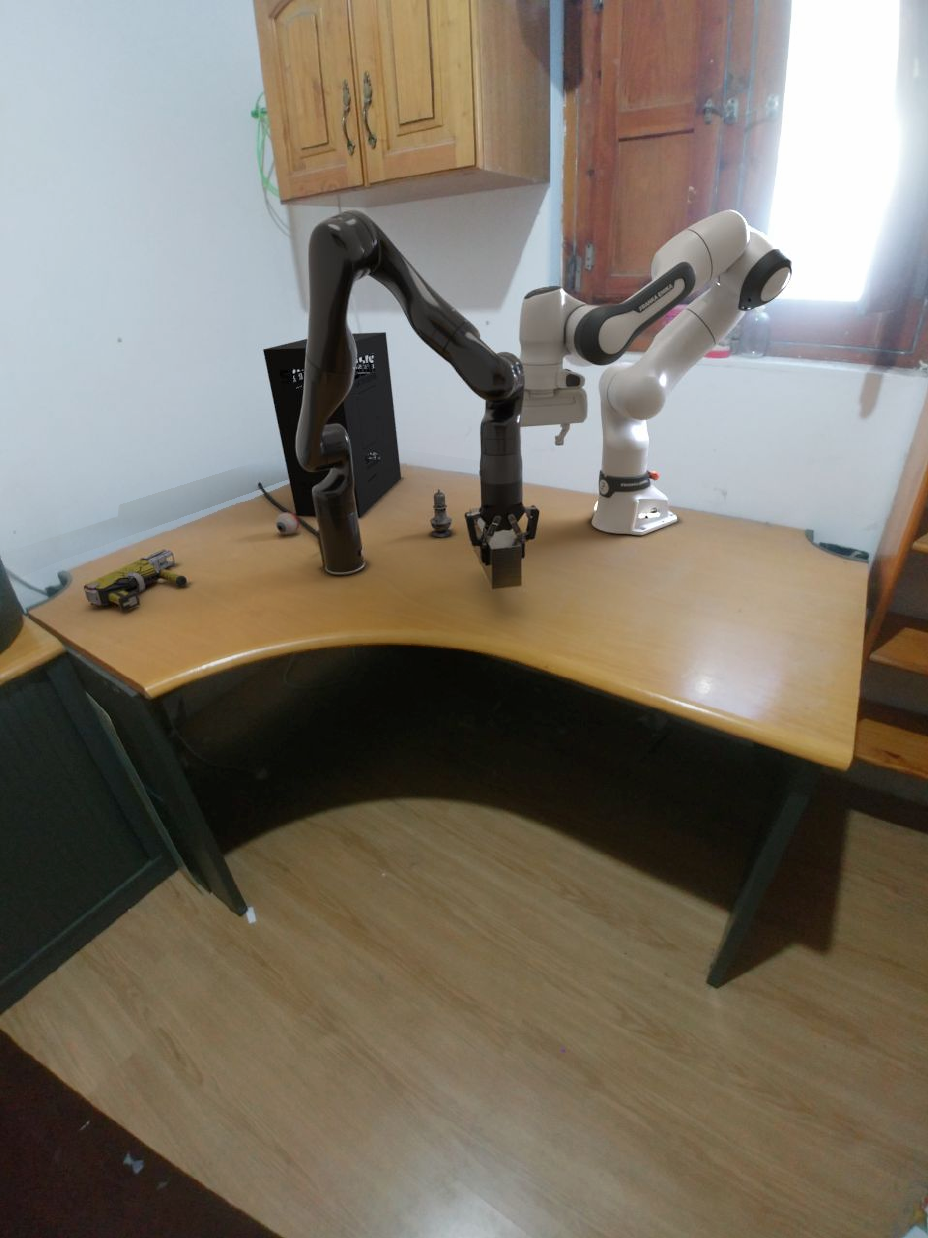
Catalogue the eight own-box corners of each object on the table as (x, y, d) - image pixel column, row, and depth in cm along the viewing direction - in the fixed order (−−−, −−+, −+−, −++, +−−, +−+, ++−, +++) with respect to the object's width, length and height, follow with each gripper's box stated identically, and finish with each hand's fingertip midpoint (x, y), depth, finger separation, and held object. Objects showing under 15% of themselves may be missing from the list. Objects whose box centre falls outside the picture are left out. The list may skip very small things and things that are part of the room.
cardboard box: (360, 517, 174) (335, 347, 151) (296, 514, 178) (263, 349, 156) (401, 477, 205) (385, 332, 183) (345, 476, 210) (324, 334, 187)
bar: (471, 544, 133) (469, 508, 129) (496, 541, 134) (495, 505, 130) (492, 589, 114) (491, 549, 110) (521, 585, 115) (521, 545, 111)
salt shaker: (450, 537, 157) (447, 492, 151) (428, 536, 158) (424, 492, 152) (455, 529, 162) (452, 485, 156) (433, 528, 163) (430, 485, 157)
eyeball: (273, 537, 164) (268, 516, 161) (287, 528, 169) (282, 508, 166) (291, 539, 161) (286, 518, 158) (305, 530, 166) (301, 510, 163)
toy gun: (210, 557, 146) (160, 546, 150) (132, 599, 126) (77, 585, 130) (213, 575, 148) (164, 564, 152) (137, 618, 128) (82, 604, 132)
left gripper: (465, 486, 103) (469, 575, 111) (546, 477, 105) (544, 565, 113) (458, 473, 109) (462, 558, 118) (534, 466, 111) (533, 550, 120)
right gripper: (493, 383, 118) (493, 453, 125) (592, 377, 121) (587, 446, 128) (486, 378, 124) (487, 446, 131) (582, 372, 127) (577, 439, 133)
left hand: (502, 561), depth 115 cm, fingers closed on bar, 5 cm apart
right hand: (537, 446), depth 129 cm, fingers open, 8 cm apart
